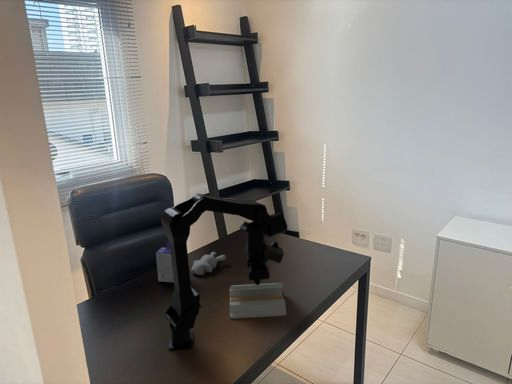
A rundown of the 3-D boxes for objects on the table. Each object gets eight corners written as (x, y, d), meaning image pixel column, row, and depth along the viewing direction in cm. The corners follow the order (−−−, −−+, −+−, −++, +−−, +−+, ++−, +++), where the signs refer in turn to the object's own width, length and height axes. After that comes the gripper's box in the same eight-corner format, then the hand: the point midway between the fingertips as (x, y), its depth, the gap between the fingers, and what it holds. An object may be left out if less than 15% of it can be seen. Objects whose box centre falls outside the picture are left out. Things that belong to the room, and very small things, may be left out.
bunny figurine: (185, 263, 148) (210, 246, 159) (187, 274, 150) (212, 257, 161) (202, 270, 142) (227, 252, 153) (204, 281, 144) (228, 262, 155)
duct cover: (283, 286, 120) (283, 283, 120) (230, 289, 119) (230, 286, 119) (279, 285, 130) (279, 282, 130) (231, 288, 129) (230, 285, 129)
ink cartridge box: (187, 276, 146) (185, 242, 142) (182, 283, 140) (179, 248, 137) (164, 274, 148) (160, 240, 144) (158, 281, 142) (154, 246, 139)
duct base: (286, 315, 119) (286, 305, 118) (230, 318, 118) (229, 309, 117) (280, 289, 135) (279, 280, 134) (230, 292, 134) (229, 283, 133)
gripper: (286, 252, 107) (286, 299, 112) (277, 227, 125) (278, 268, 130) (247, 254, 106) (249, 302, 111) (244, 229, 124) (246, 271, 129)
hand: (257, 284), depth 120 cm, fingers closed, pressing on duct cover
